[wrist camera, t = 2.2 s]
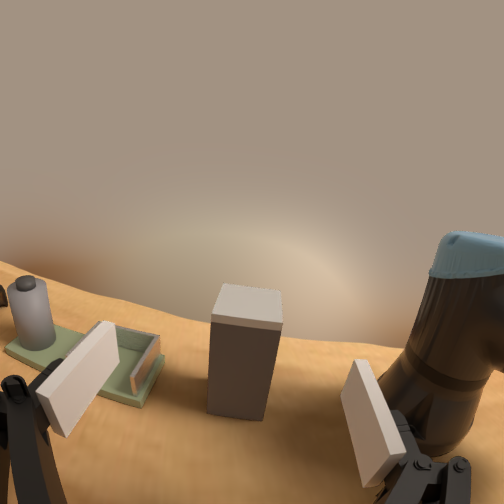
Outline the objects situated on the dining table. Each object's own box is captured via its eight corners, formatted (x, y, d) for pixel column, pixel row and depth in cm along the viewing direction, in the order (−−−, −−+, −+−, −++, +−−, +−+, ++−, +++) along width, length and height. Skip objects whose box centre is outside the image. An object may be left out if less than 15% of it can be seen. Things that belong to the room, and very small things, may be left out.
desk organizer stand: (165, 362, 35) (162, 292, 32) (141, 408, 26) (130, 332, 23) (41, 325, 35) (29, 264, 33) (7, 354, 27) (-12, 286, 24)
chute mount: (160, 354, 35) (159, 335, 34) (137, 397, 26) (133, 377, 26) (101, 339, 35) (98, 321, 34) (70, 375, 27) (65, 355, 26)
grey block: (264, 381, 34) (280, 290, 30) (262, 421, 27) (282, 322, 24) (216, 375, 34) (223, 283, 30) (206, 413, 27) (211, 313, 24)
